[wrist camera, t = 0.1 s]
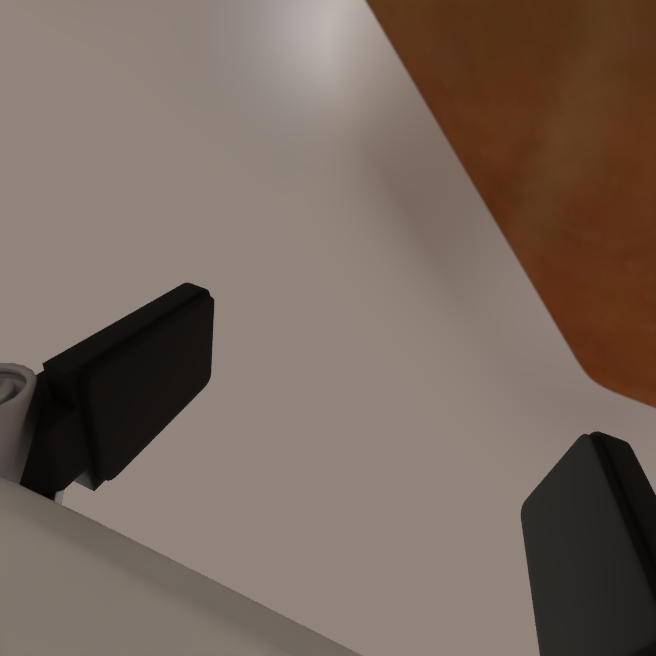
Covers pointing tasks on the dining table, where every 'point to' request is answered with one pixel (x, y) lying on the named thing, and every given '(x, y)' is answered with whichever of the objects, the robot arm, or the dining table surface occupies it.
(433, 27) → the dining table surface
